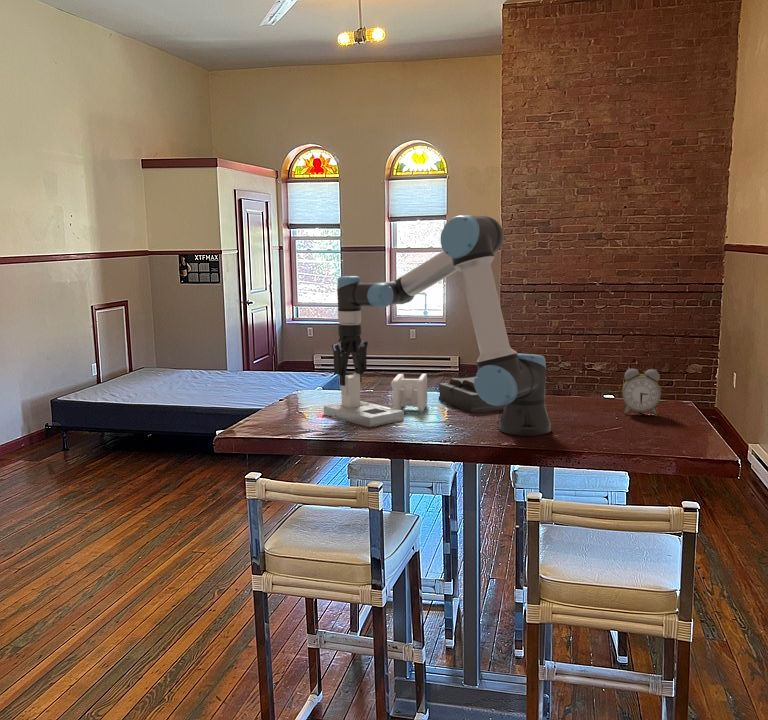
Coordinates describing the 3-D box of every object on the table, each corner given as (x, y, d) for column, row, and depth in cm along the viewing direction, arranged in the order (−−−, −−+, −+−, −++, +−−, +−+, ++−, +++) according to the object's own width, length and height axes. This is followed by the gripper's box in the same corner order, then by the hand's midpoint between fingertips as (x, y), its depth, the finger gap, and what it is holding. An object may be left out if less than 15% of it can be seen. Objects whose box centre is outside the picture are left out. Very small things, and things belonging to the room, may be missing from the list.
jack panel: (403, 419, 234) (403, 410, 233) (370, 427, 225) (370, 417, 224) (356, 408, 252) (356, 399, 251) (323, 414, 243) (323, 405, 242)
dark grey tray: (457, 415, 241) (457, 385, 240) (435, 399, 267) (435, 372, 266) (524, 410, 246) (524, 381, 244) (495, 395, 272) (495, 369, 271)
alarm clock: (621, 415, 235) (623, 369, 233) (621, 411, 242) (623, 366, 239) (660, 417, 232) (662, 371, 229) (659, 413, 238) (660, 367, 236)
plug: (360, 406, 242) (359, 376, 240) (350, 408, 239) (349, 378, 238) (349, 403, 246) (349, 374, 245) (339, 405, 243) (338, 376, 242)
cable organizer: (422, 414, 241) (422, 380, 239) (391, 414, 242) (390, 379, 241) (427, 405, 255) (427, 372, 254) (397, 404, 257) (397, 372, 255)
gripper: (363, 320, 246) (364, 388, 250) (321, 324, 235) (322, 396, 239) (377, 322, 241) (378, 391, 244) (335, 326, 230) (336, 399, 233)
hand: (350, 393), depth 242 cm, fingers closed on plug, 4 cm apart
